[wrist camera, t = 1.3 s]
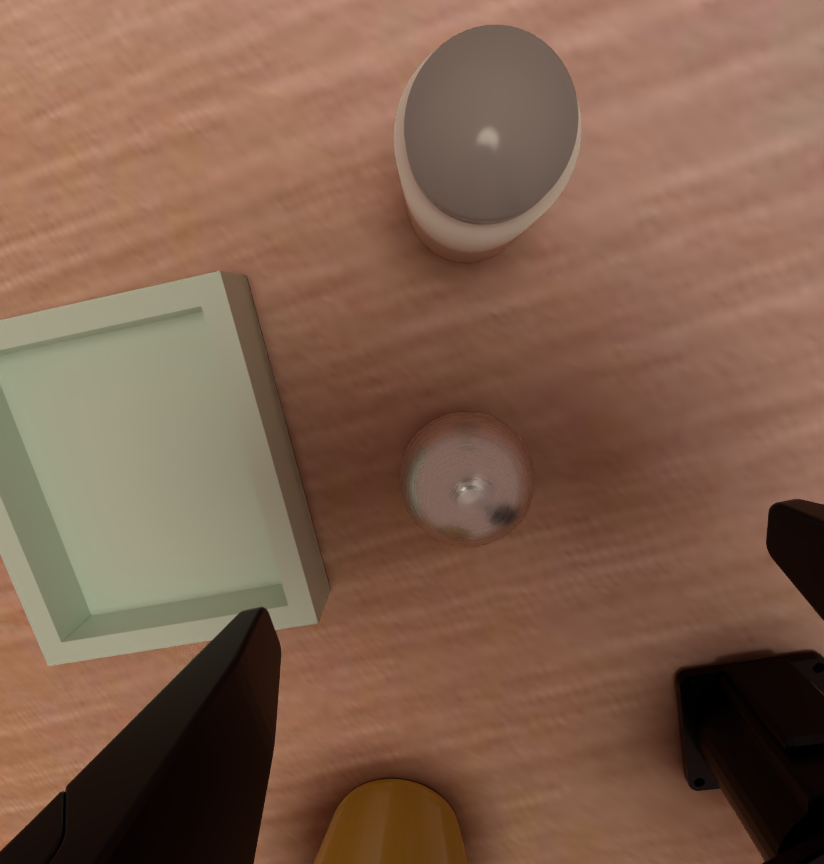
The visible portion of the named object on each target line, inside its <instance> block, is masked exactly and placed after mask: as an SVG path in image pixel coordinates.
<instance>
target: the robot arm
mask: <svg viewBox="0 0 824 864" xmlns="http://www.w3.org/2000/svg"><path fill="white" fill-rule="evenodd" d="M766 545H767V549H768V552H769V554H770V556H771V557H772V559H773V560H774V561H775V562H776V564H777V565H778V566H779V567H780V568H781V570H782V571H783V572H784V573H785V574H786V576H787V577H788V578H789V579H790V580H791V582H792V583H793V584H794V585H795V587H796V588H797V589H798V590H799V591H800V593H801V594H802V595H803V596H804V597H805V599H806V600H807V601H808V602H809V604H810V605H811V606H812V607H813V608H814V610H815V611H816V612H817V613H818V614H819V616H820V617H821V618H822V619H823V620H824V505H823V504H819V503H814V502H810V501H805V500H801V499H793V500H788V501H783V502H778V503H775V504H773V505H772V506H771V507H770V509H769V515H768V526H767V538H766ZM815 664H816V665H815ZM280 665H281V647H280V642H279V639H278V636H277V634H276V631H275V628H274V625H273V623H272V620H271V617H270V614H269V612H268V611H267V609H266V608H264V607H257V608H252V609H247V610H243V611H241V612H240V613H239V614H238V615H237V616H236V617H235V618H234V619H233V620H232V621H231V622H230V623H229V624H228V625H227V626H226V627H225V628H224V629H223V630H222V631H221V632H220V633H219V634H218V635H217V636H216V637H215V638H214V639H213V640H212V641H211V642H210V643H209V644H208V645H207V646H206V647H205V648H204V649H203V650H202V651H201V652H200V653H199V654H198V655H197V656H196V657H195V658H194V659H193V660H192V661H191V662H190V663H189V664H188V665H187V666H186V667H185V668H184V669H183V670H182V671H181V672H180V673H179V674H178V675H177V676H176V677H175V678H174V679H173V680H172V681H171V682H170V683H169V684H168V685H167V686H166V687H165V688H164V689H163V690H162V691H161V692H160V693H159V694H158V695H157V696H156V697H155V698H154V699H153V700H152V701H151V702H150V703H149V704H148V705H147V706H146V707H145V708H144V709H143V710H142V711H141V712H140V713H139V714H138V715H137V716H136V717H135V718H134V719H133V720H132V721H131V722H130V723H129V724H128V725H127V726H126V727H125V728H124V729H123V730H122V731H121V732H120V733H119V734H118V735H117V736H116V737H115V738H114V739H113V740H112V741H111V742H110V743H109V744H108V745H107V746H106V747H105V748H104V749H103V750H102V751H101V752H100V753H99V754H98V755H97V756H96V757H95V758H94V759H93V760H92V761H91V762H90V763H89V764H88V765H87V766H86V767H85V768H84V769H83V770H82V771H81V772H80V773H79V774H78V775H77V776H76V777H75V778H74V779H73V780H72V781H71V782H70V783H69V784H68V785H67V787H66V790H65V792H64V791H62V792H60V793H59V794H58V795H57V796H56V797H55V798H54V799H53V800H52V801H51V802H50V803H49V804H48V805H47V806H46V807H45V808H44V809H43V810H42V811H41V812H40V813H39V814H38V815H37V816H36V817H35V818H34V819H33V820H32V821H31V822H30V823H29V824H28V825H27V826H26V827H25V828H24V829H23V830H22V831H21V832H20V833H19V834H18V835H17V836H16V837H15V838H14V839H12V840H11V841H10V842H9V843H8V844H7V845H6V846H5V847H4V848H3V849H2V850H1V851H0V864H254V858H255V852H256V847H257V841H258V836H259V830H260V825H261V819H262V813H263V808H264V802H265V797H266V791H267V786H268V780H269V774H270V769H271V763H272V757H273V751H274V744H275V733H276V720H277V707H278V693H279V679H280ZM814 665H815V666H814ZM688 681H691V682H690V683H688V684H686V683H687V682H688ZM676 691H677V702H678V712H679V723H680V733H681V744H682V754H683V765H684V775H685V779H686V781H687V782H688V784H689V786H690V787H691V788H692V789H693V790H696V791H702V790H710V789H718V788H721V790H722V792H723V793H724V795H725V796H726V798H727V800H728V801H729V803H730V805H731V806H732V808H733V810H734V811H735V813H736V815H737V816H738V818H739V819H740V821H741V823H742V824H743V826H744V828H745V829H746V831H747V833H748V834H749V836H750V838H751V839H752V841H753V843H754V844H755V846H756V847H757V849H758V851H759V852H760V854H761V856H762V857H763V859H764V861H765V862H764V863H763V864H824V657H823V656H822V655H821V654H819V653H817V652H810V653H802V654H795V655H788V656H781V657H774V658H767V659H760V660H753V661H746V662H738V663H731V664H724V665H717V666H710V667H703V668H696V669H689V670H684V671H681V672H680V673H678V675H677V676H676Z"/></svg>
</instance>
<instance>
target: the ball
mask: <svg viewBox="0 0 824 864" xmlns="http://www.w3.org/2000/svg"><path fill="white" fill-rule="evenodd" d="M399 476H400V491H401V496H402V499H403V502H404V504H405V507H406V509H407V511H408V513H409V514H410V516H411V518H412V519H413V520H414V521H415V523H416V524H417V525H418V526H419V527H420V528H421V529H422V530H423V531H424V532H426V533H427V534H428V535H430V536H431V537H433V538H435V539H437V540H438V541H441V542H443V543H446V544H449V545H453V546H460V547H477V546H482V545H487V544H490V543H492V542H495V541H497V540H499V539H501V538H503V537H504V536H506V535H507V534H509V533H510V532H511V531H512V530H513V529H515V528H516V527H517V525H518V524H519V523H520V522H521V521H522V519H523V518H524V516H525V515H526V513H527V511H528V509H529V507H530V504H531V502H532V499H533V495H534V490H535V471H534V466H533V461H532V459H531V456H530V453H529V451H528V449H527V447H526V445H525V444H524V442H523V441H522V439H521V438H520V437H519V436H518V434H517V433H516V432H515V431H514V430H513V429H511V428H510V427H509V426H508V425H506V424H505V423H504V422H502V421H500V420H498V419H497V418H494V417H492V416H489V415H486V414H482V413H476V412H457V413H451V414H447V415H444V416H442V417H439V418H437V419H435V420H433V421H432V422H430V423H428V424H427V425H426V426H424V427H423V428H422V429H421V430H420V431H419V432H418V433H417V434H416V435H415V436H414V438H413V439H412V440H411V442H410V443H409V445H408V447H407V449H406V451H405V453H404V456H403V458H402V462H401V466H400V474H399Z"/></svg>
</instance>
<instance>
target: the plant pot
mask: <svg viewBox="0 0 824 864" xmlns="http://www.w3.org/2000/svg"><path fill="white" fill-rule="evenodd" d="M313 864H468V862H467V858H466V853H465V848H464V844H463V840H462V836H461V832H460V828H459V824H458V820H457V818H456V815H455V813H454V812H453V810H452V808H451V807H450V806H449V804H448V803H447V802H446V801H445V800H444V799H443V798H442V797H441V796H440V795H439V794H437V793H436V792H434V791H433V790H431V789H429V788H427V787H426V786H424V785H421V784H418V783H416V782H412V781H408V780H402V779H382V780H376V781H372V782H368V783H366V784H363V785H361V786H359V787H357V788H355V789H354V790H353V791H351V792H350V793H349V794H348V795H347V796H346V797H345V798H344V799H343V800H342V801H341V803H340V804H339V806H338V807H337V809H336V811H335V813H334V816H333V818H332V820H331V823H330V825H329V828H328V830H327V832H326V835H325V837H324V840H323V842H322V844H321V847H320V849H319V851H318V854H317V856H316V858H315V861H314V863H313Z"/></svg>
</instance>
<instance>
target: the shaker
mask: <svg viewBox="0 0 824 864" xmlns="http://www.w3.org/2000/svg"><path fill="white" fill-rule="evenodd" d="M580 143H581V114H580V109H579V103H578V99H577V96H576V92H575V89H574V86H573V82H572V80H571V77H570V75H569V73H568V71H567V69H566V67H565V65H564V64H563V62H562V61H561V59H560V58H559V57H558V55H557V54H556V53H555V52H554V51H553V49H552V48H550V47H549V46H548V45H547V44H546V43H545V42H544V41H542V40H541V39H539V38H538V37H536V36H535V35H533V34H531V33H529V32H527V31H524V30H522V29H519V28H515V27H512V26H504V25H486V26H480V27H475V28H472V29H469V30H466V31H464V32H462V33H460V34H458V35H456V36H454V37H452V38H451V39H449V40H448V41H446V42H445V43H443V44H442V45H441V46H440V47H438V48H437V49H436V50H434V51H433V52H432V53H431V54H430V55H429V56H428V57H427V58H426V59H425V60H424V61H423V62H422V63H421V64H420V66H419V67H418V68H417V69H416V71H415V72H414V74H413V75H412V77H411V78H410V80H409V81H408V83H407V85H406V87H405V89H404V91H403V94H402V97H401V99H400V102H399V105H398V109H397V113H396V118H395V125H394V151H395V159H396V163H397V168H398V172H399V176H400V181H401V185H402V189H403V194H404V198H405V202H406V207H407V211H408V215H409V219H410V222H411V224H412V227H413V229H414V231H415V233H416V234H417V236H418V237H419V239H420V240H421V241H422V243H423V244H424V245H425V246H426V247H427V248H428V249H430V250H431V251H432V252H433V253H435V254H437V255H438V256H440V257H442V258H445V259H447V260H451V261H454V262H462V263H471V262H477V261H481V260H485V259H487V258H490V257H492V256H494V255H496V254H497V253H499V252H500V251H502V250H503V249H504V248H505V247H507V246H508V245H509V244H510V243H511V242H512V241H513V240H515V239H516V238H517V237H518V236H519V235H520V234H521V233H522V232H524V231H525V230H526V229H527V228H528V227H529V226H530V225H531V224H533V223H534V222H535V221H536V220H537V219H538V218H539V217H540V216H542V215H543V214H544V213H545V212H546V211H547V210H548V209H549V208H550V207H551V206H552V205H553V204H554V202H555V201H556V200H557V199H558V197H559V196H560V195H561V193H562V192H563V190H564V188H565V187H566V185H567V183H568V182H569V179H570V177H571V175H572V173H573V170H574V168H575V164H576V161H577V158H578V154H579V148H580Z"/></svg>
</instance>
